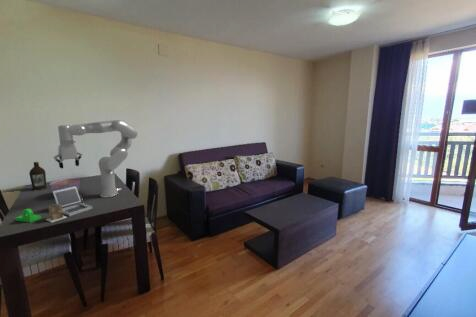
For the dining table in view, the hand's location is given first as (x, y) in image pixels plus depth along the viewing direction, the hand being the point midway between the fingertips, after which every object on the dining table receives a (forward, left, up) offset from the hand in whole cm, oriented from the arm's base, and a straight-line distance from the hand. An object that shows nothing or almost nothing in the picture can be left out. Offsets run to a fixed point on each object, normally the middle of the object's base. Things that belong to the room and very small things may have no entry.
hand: (69, 166), depth 160 cm
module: (+18, +18, -28) cm, 37 cm away
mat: (+18, +18, -28) cm, 38 cm away
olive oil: (-4, -68, -28) cm, 74 cm away
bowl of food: (-8, -29, -28) cm, 41 cm away
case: (+5, +13, -28) cm, 32 cm away
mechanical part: (+27, +3, -29) cm, 40 cm away
